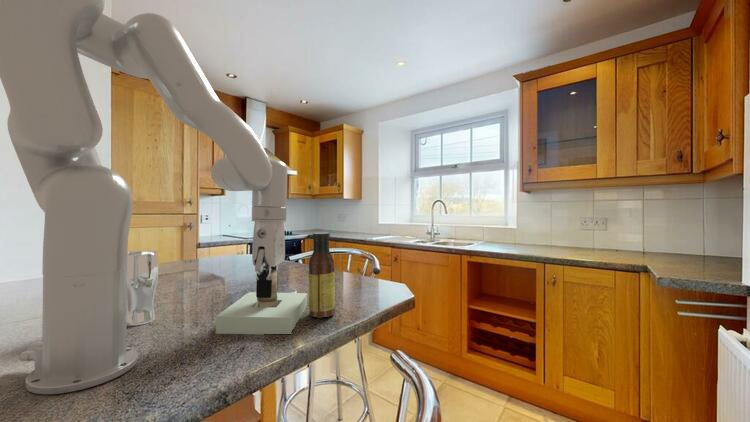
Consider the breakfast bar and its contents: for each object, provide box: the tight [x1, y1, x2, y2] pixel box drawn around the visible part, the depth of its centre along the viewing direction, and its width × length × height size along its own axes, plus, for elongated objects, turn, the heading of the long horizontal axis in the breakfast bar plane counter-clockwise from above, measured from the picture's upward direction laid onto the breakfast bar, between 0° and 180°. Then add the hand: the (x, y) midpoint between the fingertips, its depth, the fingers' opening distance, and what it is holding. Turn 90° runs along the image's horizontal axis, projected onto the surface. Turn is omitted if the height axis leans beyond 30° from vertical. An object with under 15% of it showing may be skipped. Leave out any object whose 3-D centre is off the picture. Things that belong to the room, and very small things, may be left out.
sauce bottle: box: [308, 231, 336, 319], centre depth 76 cm, size 6×6×20 cm
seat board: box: [215, 291, 308, 335], centre depth 73 cm, size 15×18×4 cm
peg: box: [257, 269, 278, 307], centre depth 73 cm, size 4×4×10 cm
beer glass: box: [126, 250, 159, 327], centre depth 69 cm, size 7×7×15 cm
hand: (267, 293), depth 73 cm, fingers closed on peg, 4 cm apart
